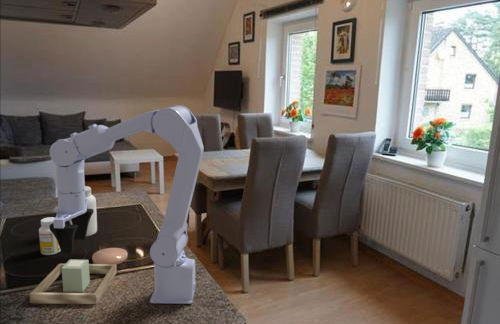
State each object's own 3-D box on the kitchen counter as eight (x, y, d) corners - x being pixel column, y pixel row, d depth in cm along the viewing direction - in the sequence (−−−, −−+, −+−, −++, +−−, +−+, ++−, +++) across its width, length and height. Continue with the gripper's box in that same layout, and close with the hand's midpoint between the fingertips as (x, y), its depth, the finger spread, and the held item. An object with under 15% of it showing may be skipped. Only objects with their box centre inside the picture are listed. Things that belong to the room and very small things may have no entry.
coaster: (130, 251, 113) (130, 248, 113) (121, 266, 104) (121, 262, 104) (99, 251, 113) (99, 247, 112) (87, 265, 104) (87, 261, 104)
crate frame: (116, 272, 101) (116, 264, 101) (96, 304, 87) (96, 295, 86) (59, 271, 101) (59, 263, 100) (30, 303, 86) (29, 294, 86)
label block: (89, 282, 96) (88, 259, 95) (82, 291, 92) (81, 268, 90) (71, 281, 96) (69, 259, 94) (63, 291, 91) (61, 267, 90)
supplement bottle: (56, 245, 115) (54, 214, 113) (65, 251, 112) (62, 219, 110) (37, 251, 111) (34, 219, 109) (45, 257, 108) (42, 224, 106)
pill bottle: (93, 237, 122) (90, 191, 119) (66, 237, 121) (63, 191, 118) (100, 228, 130) (98, 184, 127) (76, 228, 129) (73, 184, 126)
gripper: (67, 181, 95) (70, 232, 98) (37, 199, 81) (41, 259, 84) (96, 182, 96) (98, 234, 99) (71, 200, 82) (74, 260, 84)
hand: (74, 245), depth 91 cm, fingers open, 7 cm apart
